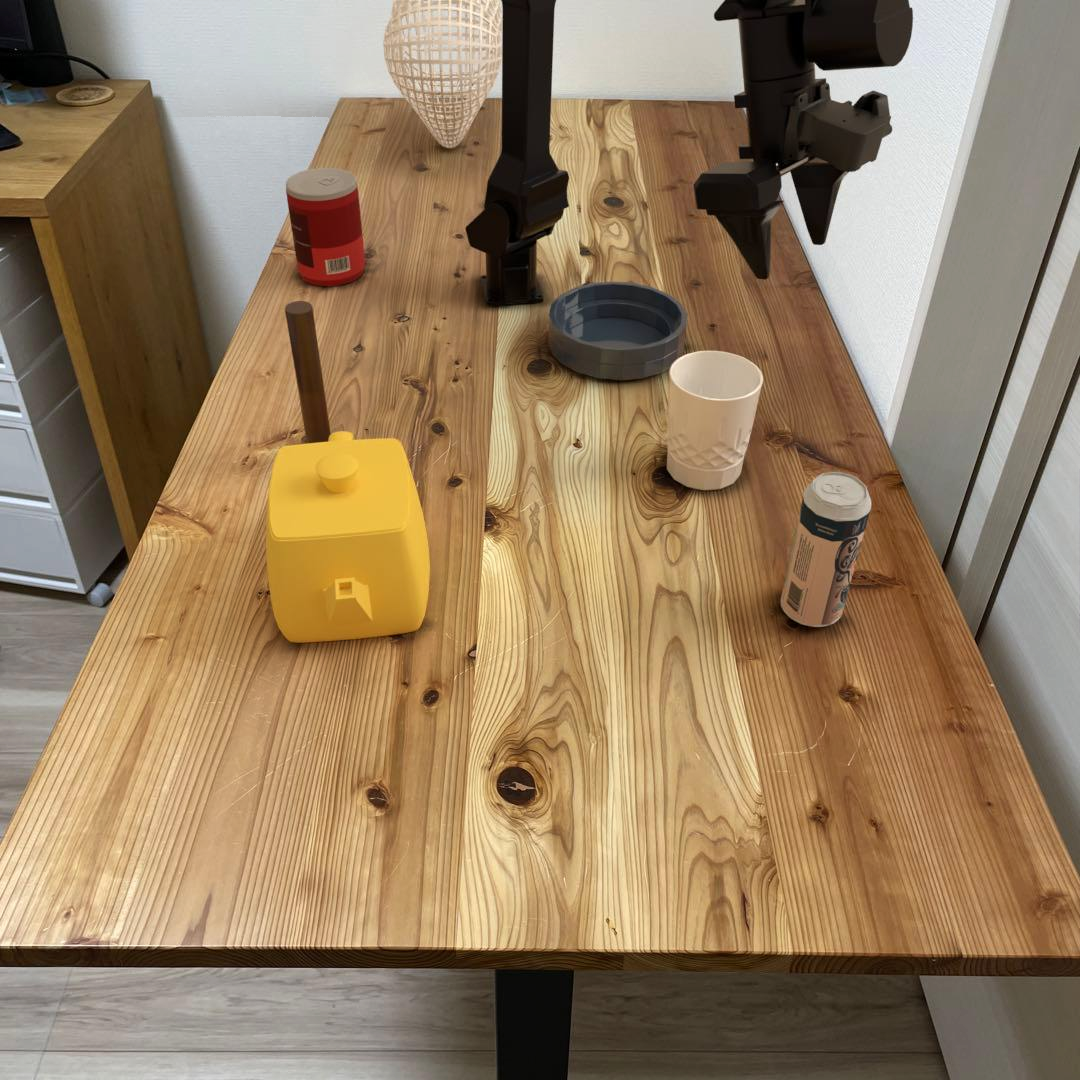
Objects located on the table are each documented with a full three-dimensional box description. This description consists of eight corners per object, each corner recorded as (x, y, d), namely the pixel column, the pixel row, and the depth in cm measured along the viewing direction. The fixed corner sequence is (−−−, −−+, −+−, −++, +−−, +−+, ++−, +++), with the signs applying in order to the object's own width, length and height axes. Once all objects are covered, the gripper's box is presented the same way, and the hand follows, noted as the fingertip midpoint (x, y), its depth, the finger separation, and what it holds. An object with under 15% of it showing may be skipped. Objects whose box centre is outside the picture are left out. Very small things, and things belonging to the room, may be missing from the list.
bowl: (538, 320, 117) (538, 286, 115) (663, 310, 119) (666, 277, 117) (562, 389, 107) (563, 355, 104) (699, 377, 109) (704, 343, 106)
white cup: (754, 453, 99) (770, 359, 92) (737, 503, 93) (753, 407, 87) (671, 436, 101) (681, 343, 94) (650, 484, 95) (659, 389, 89)
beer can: (841, 635, 81) (875, 513, 73) (778, 626, 82) (805, 504, 74) (841, 593, 85) (873, 472, 77) (780, 584, 85) (806, 464, 78)
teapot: (440, 677, 78) (431, 555, 70) (267, 694, 76) (238, 572, 69) (424, 505, 93) (415, 390, 85) (279, 517, 91) (256, 400, 84)
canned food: (378, 264, 127) (369, 173, 120) (341, 293, 121) (330, 200, 114) (324, 251, 129) (312, 162, 122) (285, 279, 124) (270, 187, 117)
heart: (503, 185, 145) (501, 8, 131) (388, 185, 145) (373, 7, 130) (503, 113, 166) (501, -47, 152) (403, 113, 166) (391, -47, 151)
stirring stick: (298, 453, 98) (271, 296, 88) (346, 449, 99) (325, 292, 88) (298, 482, 95) (270, 322, 84) (348, 478, 96) (326, 318, 85)
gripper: (804, 97, 76) (816, 306, 84) (926, 41, 87) (927, 231, 95) (679, 103, 84) (701, 295, 92) (806, 51, 94) (816, 226, 102)
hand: (791, 261), depth 95 cm, fingers open, 9 cm apart
